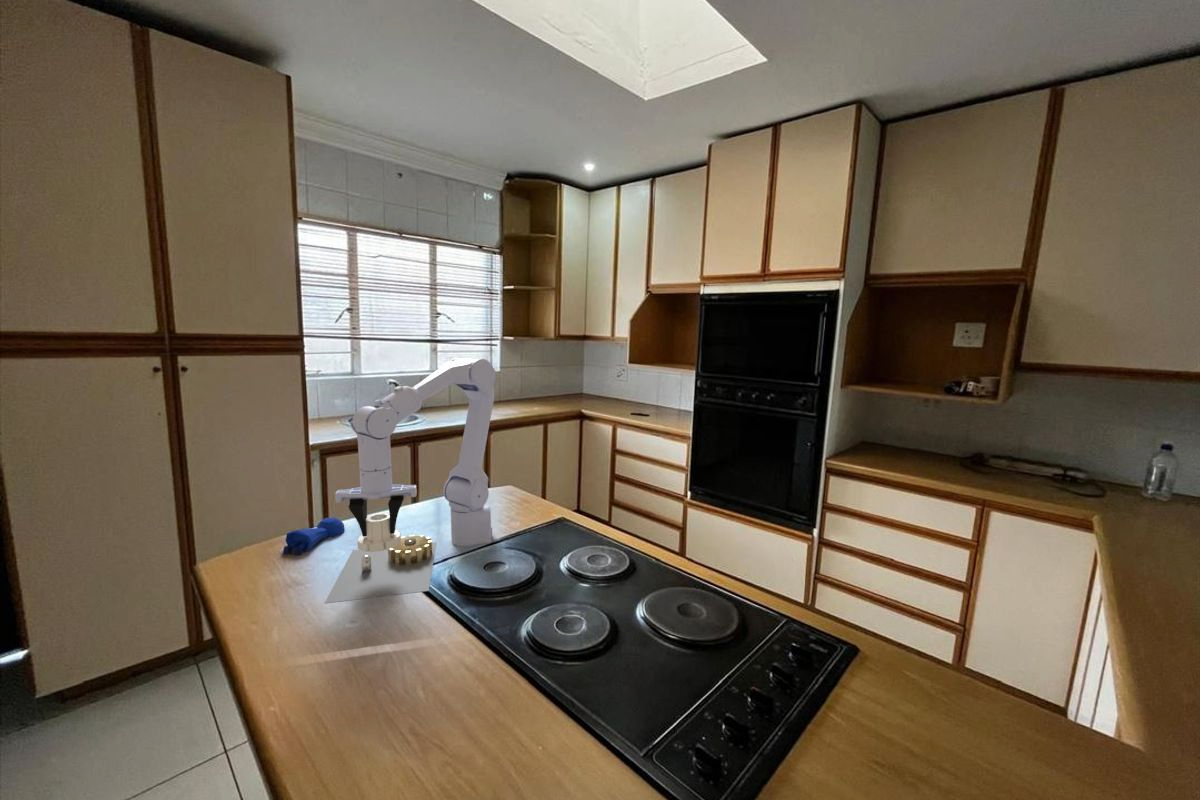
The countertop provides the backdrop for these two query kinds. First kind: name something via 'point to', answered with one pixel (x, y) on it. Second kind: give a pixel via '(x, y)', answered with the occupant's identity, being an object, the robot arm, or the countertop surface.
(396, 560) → the sun gear
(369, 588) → the carrier plate
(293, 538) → the toy
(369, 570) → the carrier pin
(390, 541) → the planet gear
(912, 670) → the countertop surface
